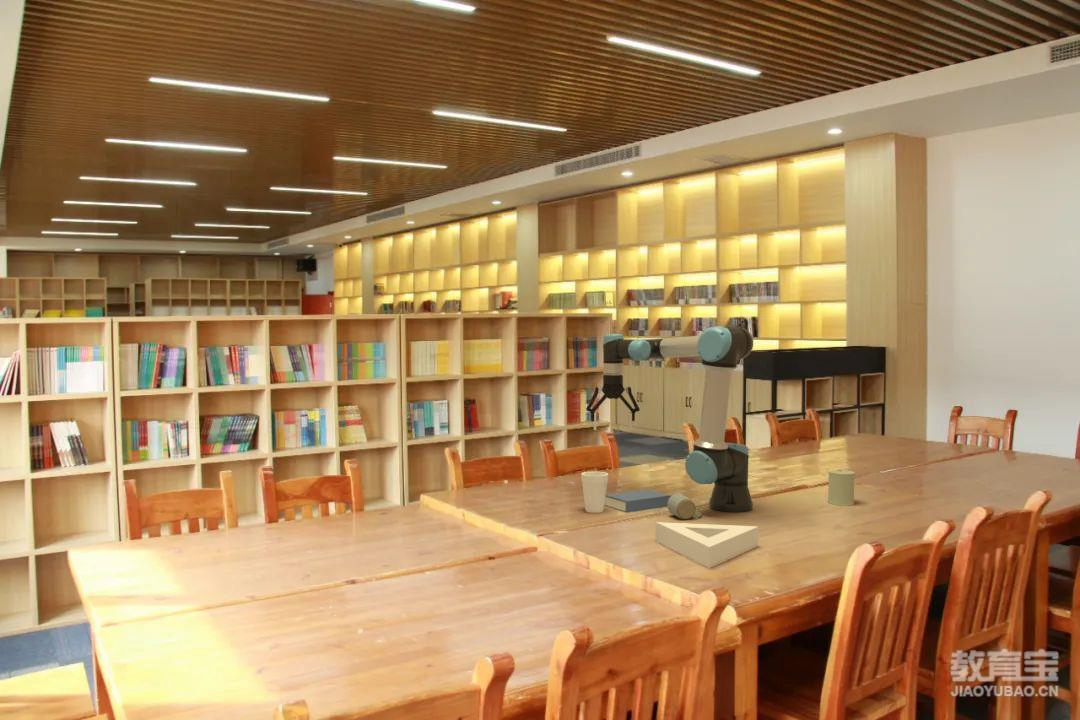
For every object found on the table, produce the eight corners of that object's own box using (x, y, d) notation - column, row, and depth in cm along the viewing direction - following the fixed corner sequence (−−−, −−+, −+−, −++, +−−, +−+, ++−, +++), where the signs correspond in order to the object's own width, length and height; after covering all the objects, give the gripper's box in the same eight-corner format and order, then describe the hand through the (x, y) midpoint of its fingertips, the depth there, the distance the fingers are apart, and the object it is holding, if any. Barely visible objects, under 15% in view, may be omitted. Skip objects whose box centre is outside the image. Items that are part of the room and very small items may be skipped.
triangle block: (655, 542, 252) (655, 522, 252) (729, 535, 261) (729, 515, 261) (709, 570, 224) (709, 547, 224) (790, 561, 233) (790, 538, 233)
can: (850, 500, 312) (851, 468, 311) (857, 505, 302) (858, 472, 302) (825, 500, 312) (825, 468, 312) (831, 505, 303) (831, 472, 303)
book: (670, 507, 301) (670, 495, 301) (626, 513, 290) (626, 501, 290) (647, 500, 312) (647, 489, 312) (604, 506, 301) (604, 494, 301)
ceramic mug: (677, 521, 278) (677, 498, 278) (666, 515, 286) (667, 493, 286) (705, 519, 281) (706, 496, 281) (694, 514, 289) (695, 492, 289)
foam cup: (608, 513, 288) (608, 476, 287) (581, 513, 288) (581, 476, 288) (606, 507, 297) (607, 471, 297) (580, 507, 298) (581, 471, 297)
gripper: (644, 373, 324) (643, 428, 325) (579, 373, 323) (579, 428, 324) (647, 374, 316) (646, 430, 317) (581, 374, 316) (580, 431, 317)
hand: (612, 429), depth 321 cm, fingers open, 13 cm apart
